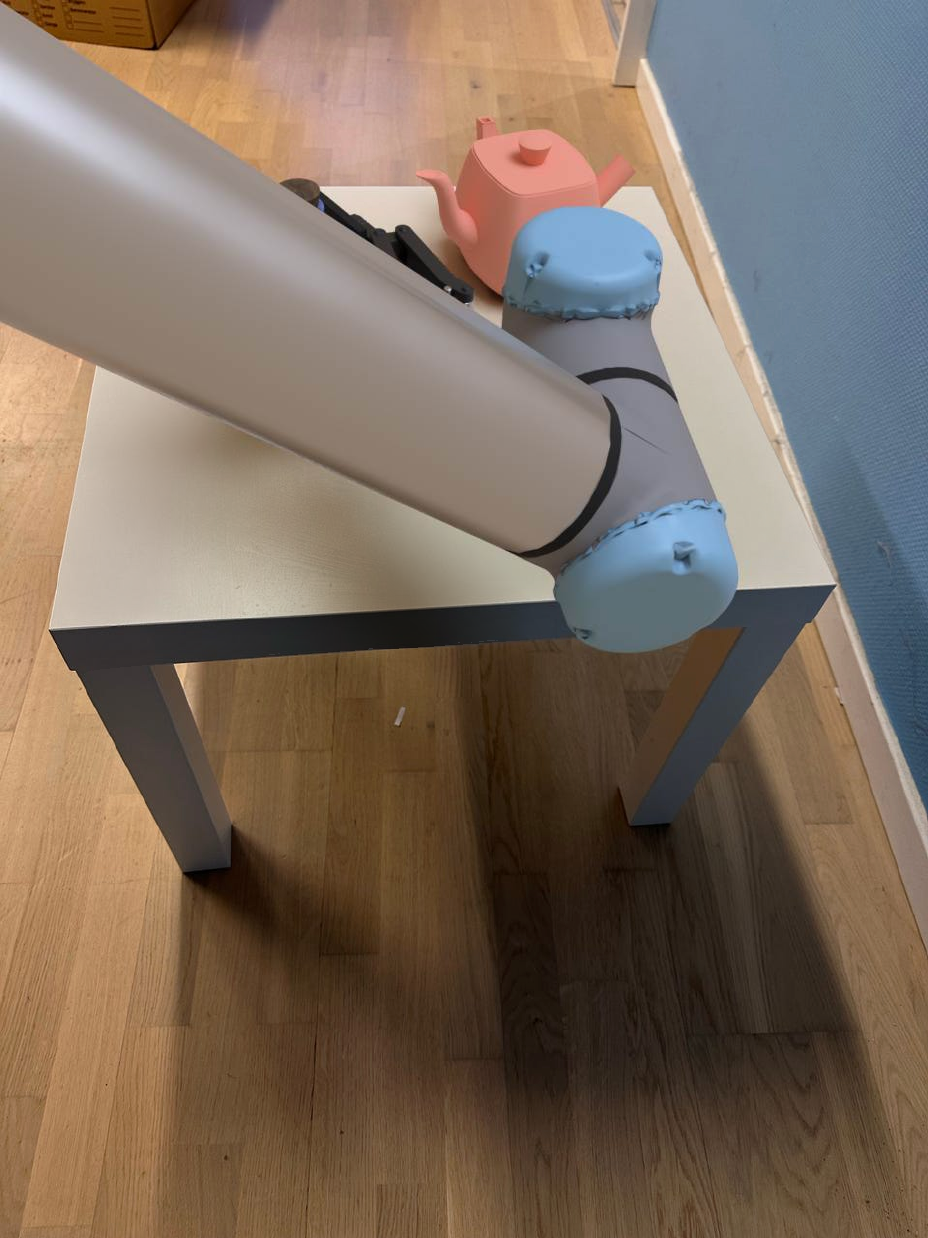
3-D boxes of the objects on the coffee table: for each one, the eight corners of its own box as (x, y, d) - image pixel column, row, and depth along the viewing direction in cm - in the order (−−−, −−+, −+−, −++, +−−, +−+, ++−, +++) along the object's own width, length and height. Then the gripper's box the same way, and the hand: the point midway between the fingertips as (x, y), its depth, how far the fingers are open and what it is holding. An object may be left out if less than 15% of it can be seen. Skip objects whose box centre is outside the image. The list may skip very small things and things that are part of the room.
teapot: (578, 336, 92) (602, 208, 81) (412, 291, 95) (413, 161, 84) (622, 244, 102) (649, 119, 91) (471, 206, 105) (478, 80, 94)
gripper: (325, 490, 58) (159, 312, 68) (559, 371, 66) (380, 228, 76) (315, 400, 52) (135, 219, 62) (574, 282, 60) (378, 138, 70)
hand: (270, 224), depth 69 cm, fingers closed on perfume bottle, 8 cm apart
